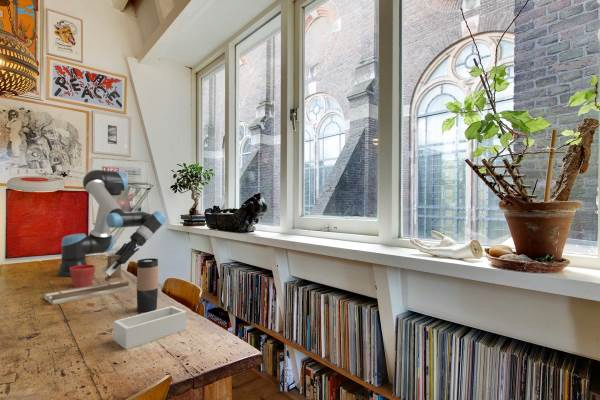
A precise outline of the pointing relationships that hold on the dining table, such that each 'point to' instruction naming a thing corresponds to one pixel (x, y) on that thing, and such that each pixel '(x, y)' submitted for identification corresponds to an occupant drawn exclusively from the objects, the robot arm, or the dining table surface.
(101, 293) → the birch board
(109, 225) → the robot arm
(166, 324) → the white rectangular planter box
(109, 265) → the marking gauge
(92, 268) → the flower pot
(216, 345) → the dining table surface
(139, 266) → the travel mug
